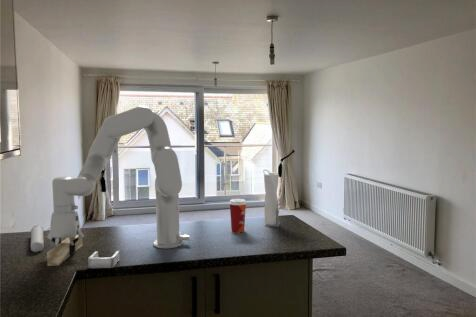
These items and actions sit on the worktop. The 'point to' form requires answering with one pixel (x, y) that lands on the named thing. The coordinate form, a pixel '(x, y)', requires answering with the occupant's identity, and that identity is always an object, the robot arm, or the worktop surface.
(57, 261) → the maple rail
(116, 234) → the worktop surface
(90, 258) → the cup bracket
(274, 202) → the white bottle gift bag
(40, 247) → the tube
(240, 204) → the coffee cup
